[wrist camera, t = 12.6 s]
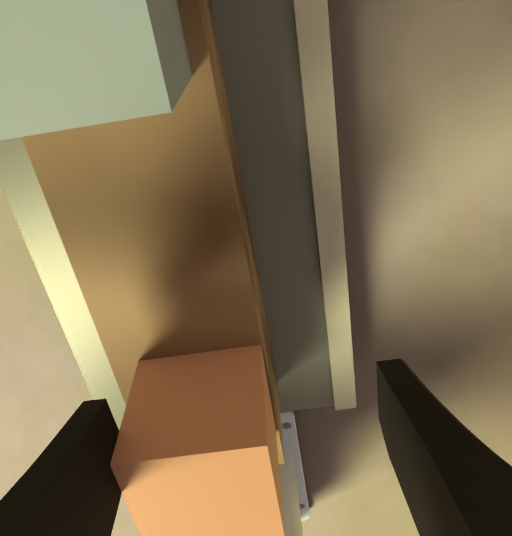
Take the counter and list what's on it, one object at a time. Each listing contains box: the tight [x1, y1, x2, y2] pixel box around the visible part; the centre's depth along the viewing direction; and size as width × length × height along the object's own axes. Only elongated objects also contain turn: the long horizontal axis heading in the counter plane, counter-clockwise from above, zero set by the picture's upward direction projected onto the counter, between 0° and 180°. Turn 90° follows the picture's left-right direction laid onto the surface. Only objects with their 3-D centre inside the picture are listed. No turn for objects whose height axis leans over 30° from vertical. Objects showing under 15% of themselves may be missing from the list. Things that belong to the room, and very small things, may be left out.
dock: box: [0, 0, 357, 430], centre depth 19 cm, size 24×12×3 cm, turn 9°
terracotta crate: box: [110, 345, 285, 536], centre depth 15 cm, size 4×4×4 cm
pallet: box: [21, 0, 285, 465], centre depth 16 cm, size 20×5×4 cm, turn 9°
